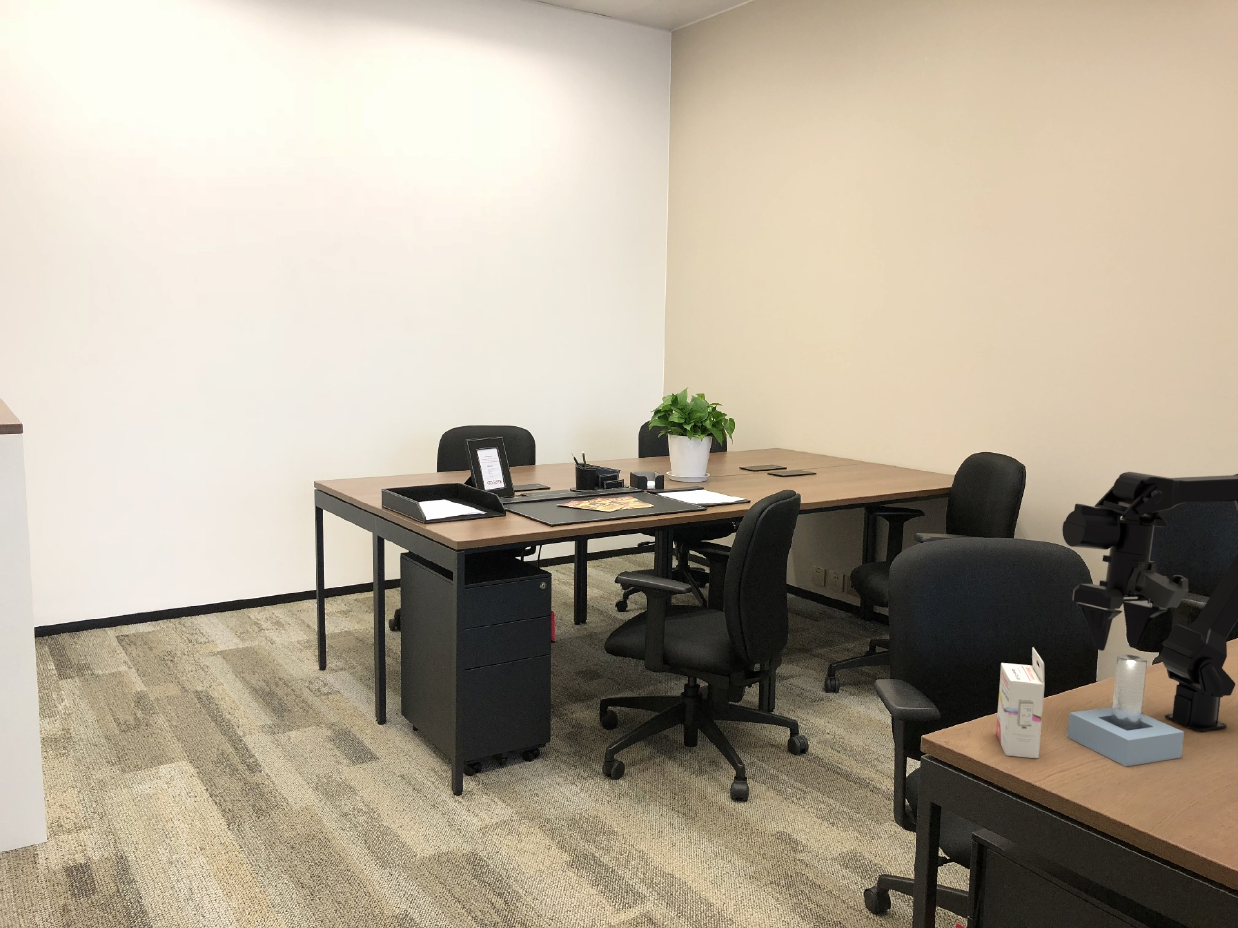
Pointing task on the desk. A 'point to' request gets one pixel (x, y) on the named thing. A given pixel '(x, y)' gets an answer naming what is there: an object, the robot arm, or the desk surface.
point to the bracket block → (1125, 737)
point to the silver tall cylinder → (1128, 692)
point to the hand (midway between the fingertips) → (1116, 648)
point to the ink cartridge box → (1021, 708)
